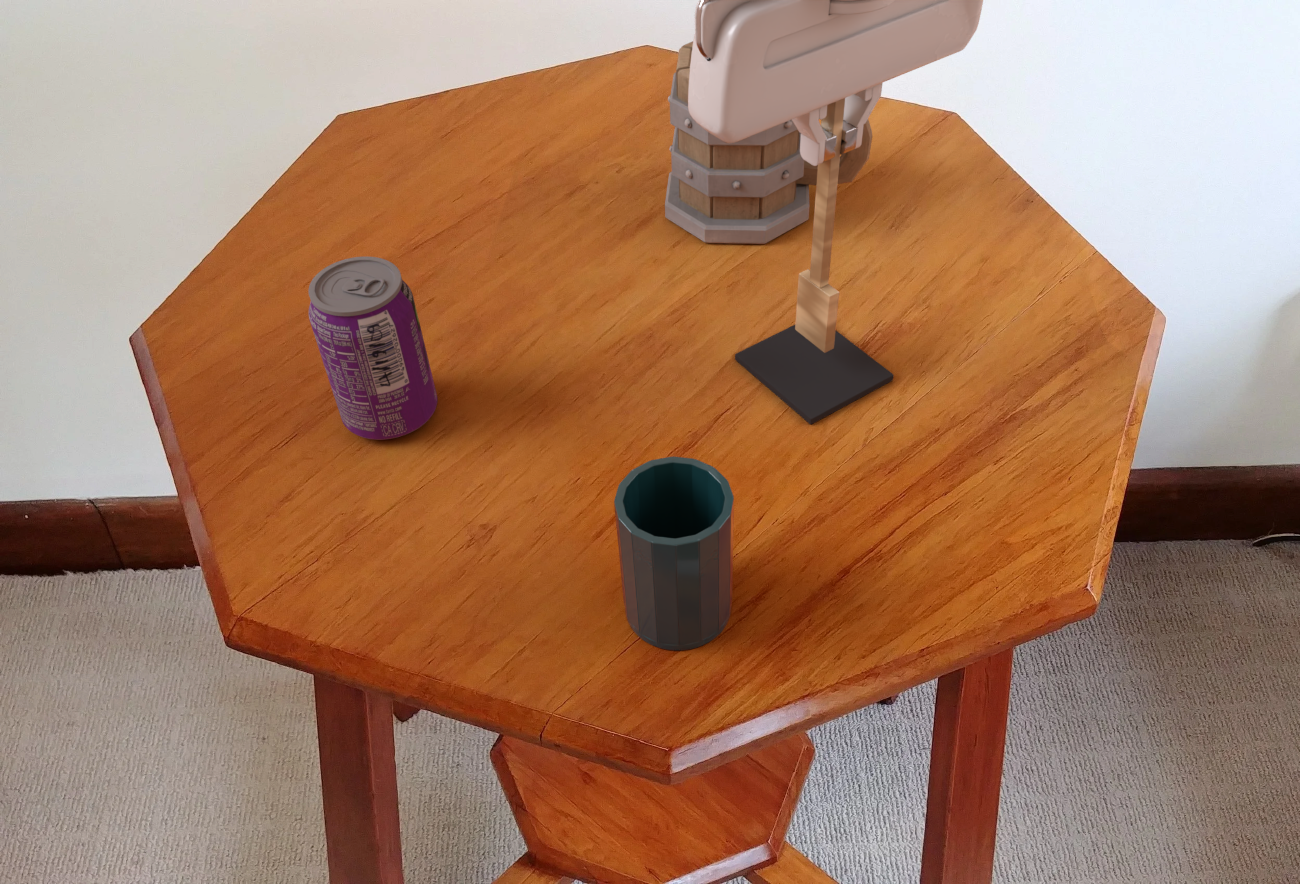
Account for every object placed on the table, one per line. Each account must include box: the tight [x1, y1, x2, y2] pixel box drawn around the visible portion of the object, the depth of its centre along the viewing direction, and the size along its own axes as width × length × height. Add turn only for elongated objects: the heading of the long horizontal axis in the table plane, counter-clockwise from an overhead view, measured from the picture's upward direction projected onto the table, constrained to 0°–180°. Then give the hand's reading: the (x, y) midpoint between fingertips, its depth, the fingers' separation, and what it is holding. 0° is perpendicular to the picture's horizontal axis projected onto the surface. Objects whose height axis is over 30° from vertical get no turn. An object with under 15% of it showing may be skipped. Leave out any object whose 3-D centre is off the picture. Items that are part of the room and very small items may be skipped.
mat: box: [734, 324, 895, 425], centre depth 85 cm, size 9×8×1 cm
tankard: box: [664, 41, 873, 245], centre depth 95 cm, size 20×13×15 cm, turn 85°
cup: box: [613, 456, 735, 652], centre depth 66 cm, size 7×7×10 cm
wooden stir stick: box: [794, 98, 845, 353], centre depth 76 cm, size 3×1×20 cm, turn 34°
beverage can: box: [308, 256, 438, 440], centre depth 79 cm, size 7×7×12 cm
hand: (830, 153), depth 72 cm, fingers closed on wooden stir stick, 1 cm apart
